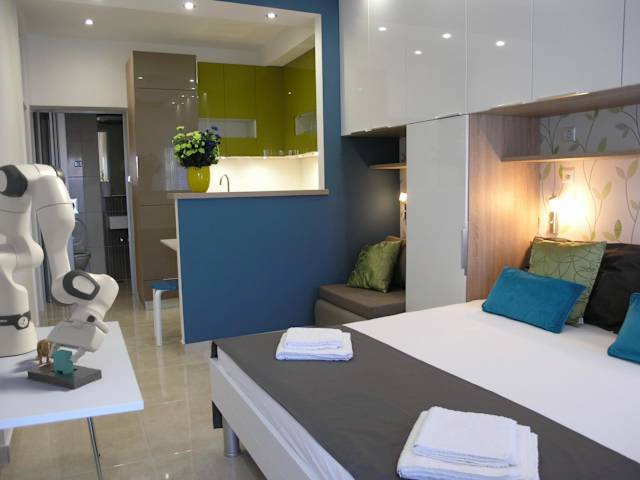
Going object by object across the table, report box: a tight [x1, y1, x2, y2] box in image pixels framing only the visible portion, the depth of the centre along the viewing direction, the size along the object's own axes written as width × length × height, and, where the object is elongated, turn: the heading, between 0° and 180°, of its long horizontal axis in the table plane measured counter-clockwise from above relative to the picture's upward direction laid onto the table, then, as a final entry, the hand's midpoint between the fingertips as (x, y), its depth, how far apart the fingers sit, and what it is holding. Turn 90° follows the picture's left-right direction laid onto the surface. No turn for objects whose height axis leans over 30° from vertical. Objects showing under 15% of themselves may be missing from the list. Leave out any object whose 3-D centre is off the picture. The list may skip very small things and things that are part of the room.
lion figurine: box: [35, 338, 52, 366], centre depth 191 cm, size 15×5×9 cm, turn 40°
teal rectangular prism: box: [52, 348, 74, 375], centre depth 174 cm, size 5×3×8 cm, turn 63°
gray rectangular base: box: [27, 361, 103, 390], centre depth 174 cm, size 21×10×2 cm, turn 63°
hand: (61, 360), depth 173 cm, fingers open, 8 cm apart
